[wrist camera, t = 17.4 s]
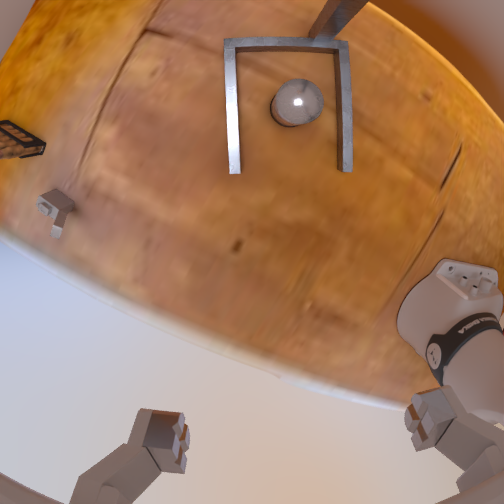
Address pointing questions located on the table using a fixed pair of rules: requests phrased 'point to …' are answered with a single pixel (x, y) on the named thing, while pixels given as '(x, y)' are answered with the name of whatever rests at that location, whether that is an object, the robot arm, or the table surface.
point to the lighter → (55, 209)
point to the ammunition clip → (18, 142)
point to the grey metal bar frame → (320, 41)
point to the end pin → (296, 103)
